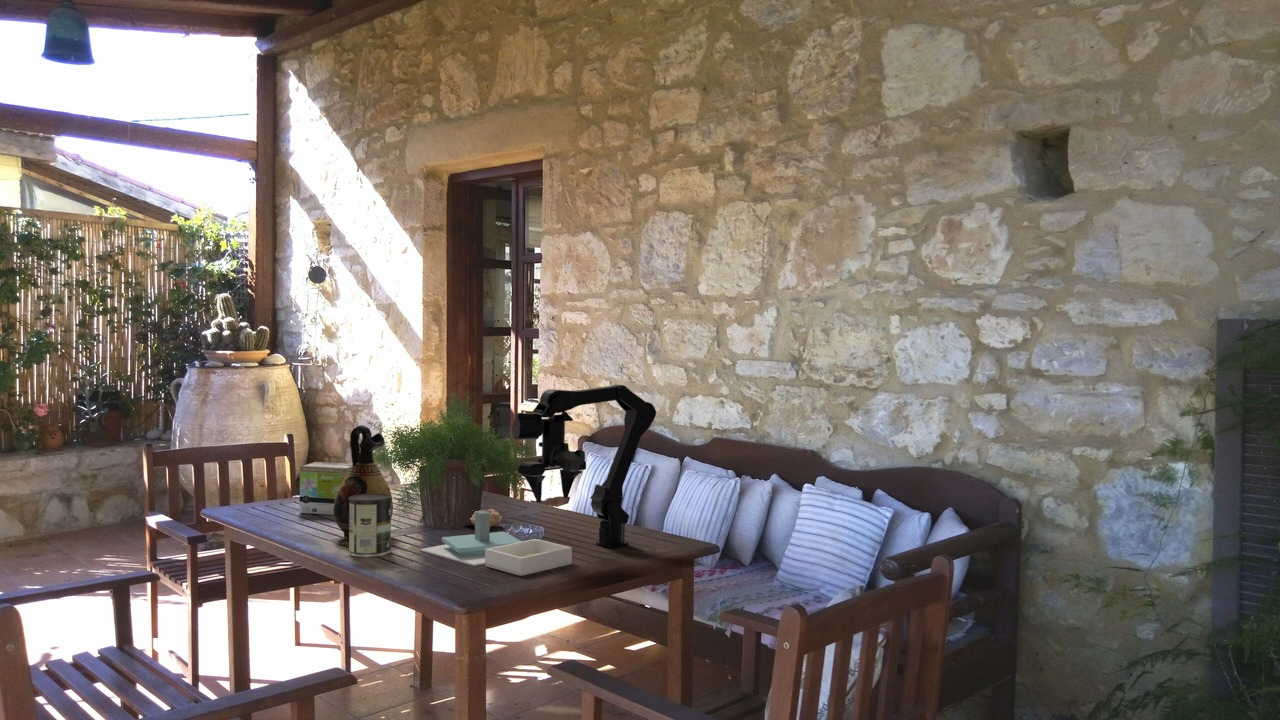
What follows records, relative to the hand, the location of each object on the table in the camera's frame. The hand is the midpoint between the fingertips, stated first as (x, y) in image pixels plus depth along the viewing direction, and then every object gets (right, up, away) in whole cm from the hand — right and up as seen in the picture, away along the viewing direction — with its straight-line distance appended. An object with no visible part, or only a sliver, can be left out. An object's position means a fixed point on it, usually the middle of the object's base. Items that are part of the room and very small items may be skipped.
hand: (552, 499), depth 235 cm
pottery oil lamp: (-23, -12, +29) cm, 39 cm away
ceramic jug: (-52, -12, +12) cm, 55 cm away
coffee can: (-45, -13, -5) cm, 47 cm away
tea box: (-73, -11, +47) cm, 87 cm away
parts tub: (-4, -13, -15) cm, 20 cm away
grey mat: (-18, -13, -1) cm, 22 cm away
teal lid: (-18, -12, -1) cm, 22 cm away
